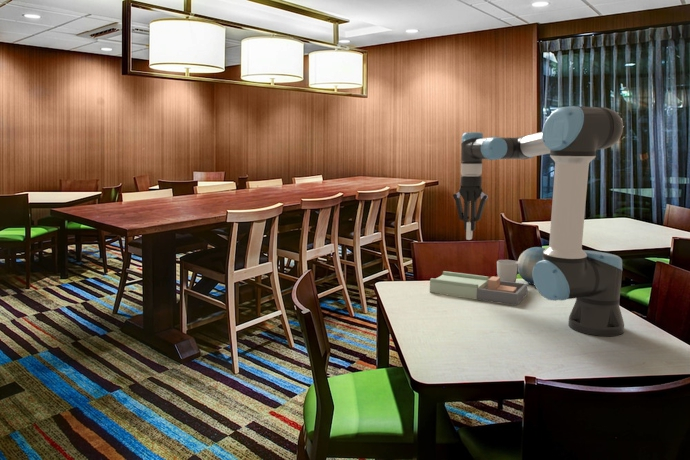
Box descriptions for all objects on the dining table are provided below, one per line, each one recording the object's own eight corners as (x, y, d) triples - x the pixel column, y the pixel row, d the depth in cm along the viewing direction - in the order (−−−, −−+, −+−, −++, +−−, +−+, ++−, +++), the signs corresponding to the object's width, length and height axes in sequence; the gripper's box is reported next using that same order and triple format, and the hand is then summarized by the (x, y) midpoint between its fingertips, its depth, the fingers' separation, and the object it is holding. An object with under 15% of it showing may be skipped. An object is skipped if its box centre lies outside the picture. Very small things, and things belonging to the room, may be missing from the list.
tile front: (496, 288, 188) (495, 297, 188) (513, 291, 185) (512, 299, 185) (500, 285, 193) (499, 293, 193) (516, 287, 190) (516, 295, 190)
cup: (520, 289, 199) (521, 264, 198) (499, 289, 200) (500, 264, 198) (513, 284, 207) (515, 259, 206) (493, 284, 208) (494, 259, 206)
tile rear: (487, 295, 190) (495, 296, 188) (487, 279, 189) (496, 280, 187) (491, 291, 195) (499, 292, 193) (492, 276, 194) (500, 277, 192)
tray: (516, 305, 179) (517, 294, 179) (476, 299, 187) (477, 288, 186) (526, 294, 193) (527, 283, 192) (489, 289, 200) (489, 279, 199)
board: (476, 299, 187) (477, 285, 186) (429, 292, 196) (429, 278, 196) (488, 289, 200) (488, 276, 199) (443, 283, 209) (444, 270, 208)
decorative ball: (553, 291, 197) (555, 252, 195) (512, 286, 205) (514, 248, 202) (558, 282, 210) (561, 245, 208) (520, 277, 217) (522, 242, 215)
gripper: (491, 175, 190) (489, 239, 193) (457, 174, 196) (455, 236, 200) (486, 176, 183) (483, 242, 187) (450, 175, 190) (448, 239, 193)
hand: (469, 239), depth 193 cm, fingers closed
